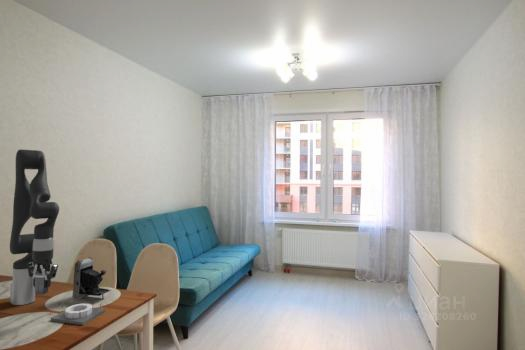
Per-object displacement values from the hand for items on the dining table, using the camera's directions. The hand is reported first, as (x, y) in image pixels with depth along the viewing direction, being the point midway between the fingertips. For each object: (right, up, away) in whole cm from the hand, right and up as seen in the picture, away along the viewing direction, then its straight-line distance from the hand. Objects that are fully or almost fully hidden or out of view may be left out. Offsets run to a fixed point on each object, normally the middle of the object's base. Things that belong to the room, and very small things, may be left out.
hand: (41, 287), depth 140 cm
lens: (0, -2, 0) cm, 2 cm away
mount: (+13, -15, +5) cm, 21 cm away
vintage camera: (+8, -15, +27) cm, 32 cm away
